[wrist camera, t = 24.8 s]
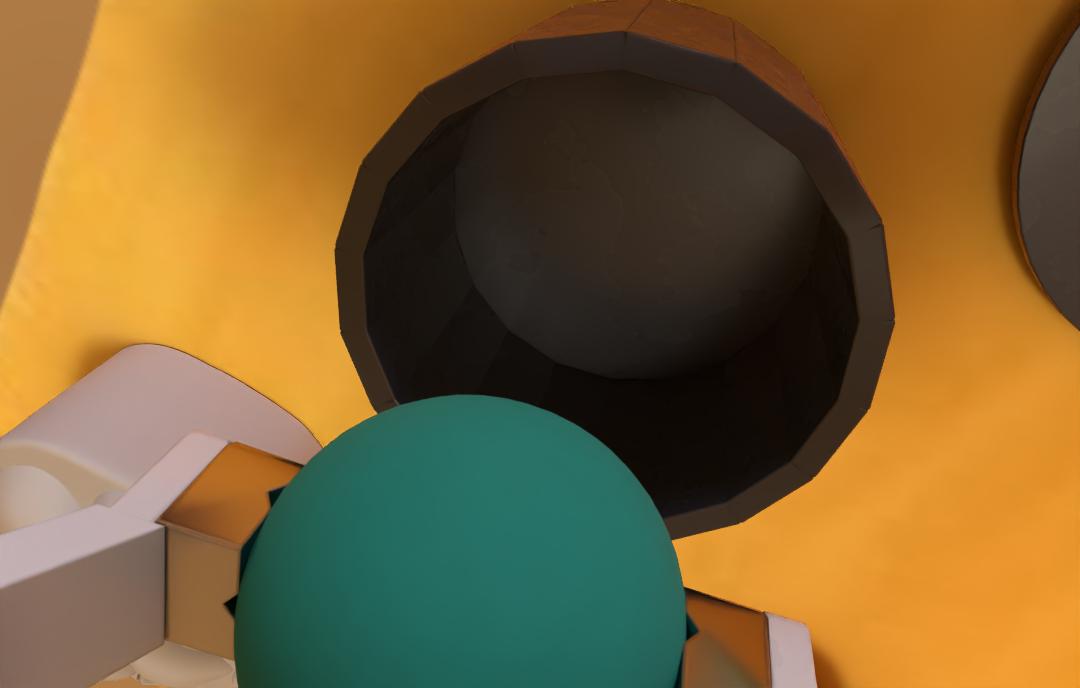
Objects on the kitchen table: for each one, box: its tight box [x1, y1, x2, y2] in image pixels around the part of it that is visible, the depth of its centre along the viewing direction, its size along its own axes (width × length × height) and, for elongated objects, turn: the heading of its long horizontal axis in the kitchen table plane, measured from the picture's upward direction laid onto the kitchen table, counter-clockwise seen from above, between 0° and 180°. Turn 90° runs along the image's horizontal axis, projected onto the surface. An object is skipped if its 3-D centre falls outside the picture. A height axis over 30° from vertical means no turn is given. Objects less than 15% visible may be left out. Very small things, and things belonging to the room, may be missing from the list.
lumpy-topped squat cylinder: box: [0, 344, 323, 688], centre depth 33 cm, size 10×13×9 cm
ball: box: [234, 395, 687, 688], centre depth 9 cm, size 5×5×5 cm
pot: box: [335, 0, 895, 540], centre depth 24 cm, size 14×14×8 cm
